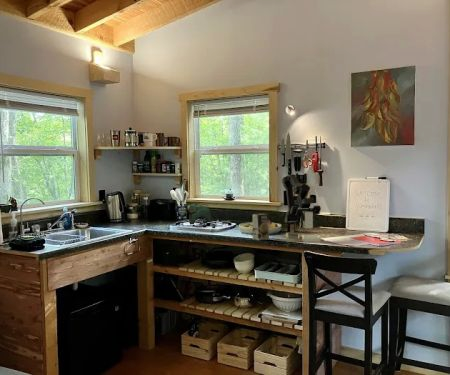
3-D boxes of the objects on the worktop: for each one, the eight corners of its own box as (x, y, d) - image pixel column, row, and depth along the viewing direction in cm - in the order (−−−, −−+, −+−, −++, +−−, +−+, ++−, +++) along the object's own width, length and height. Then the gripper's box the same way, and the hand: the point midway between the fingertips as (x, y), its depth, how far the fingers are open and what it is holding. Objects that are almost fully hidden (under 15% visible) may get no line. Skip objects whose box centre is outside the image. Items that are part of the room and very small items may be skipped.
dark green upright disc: (189, 227, 320) (189, 201, 319) (186, 225, 326) (185, 200, 325) (212, 224, 330) (212, 199, 329) (208, 223, 336) (208, 199, 334)
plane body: (285, 236, 276) (285, 224, 276) (298, 236, 275) (298, 224, 275) (286, 241, 258) (286, 228, 257) (299, 241, 257) (299, 228, 256)
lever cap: (302, 227, 262) (302, 211, 262) (310, 227, 263) (310, 211, 263) (305, 228, 259) (305, 212, 258) (312, 228, 259) (312, 212, 259)
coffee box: (258, 240, 263) (258, 214, 262) (252, 239, 268) (252, 214, 267) (269, 238, 268) (269, 213, 267) (262, 237, 273) (262, 212, 272)
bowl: (279, 236, 278) (279, 224, 278) (235, 235, 284) (235, 223, 284) (282, 229, 308) (282, 218, 307) (242, 228, 314) (242, 217, 313)
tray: (302, 238, 267) (302, 235, 267) (319, 238, 266) (319, 235, 266) (303, 241, 257) (303, 238, 257) (320, 241, 256) (320, 238, 255)
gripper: (291, 193, 262) (296, 213, 252) (319, 192, 265) (326, 212, 255) (287, 204, 270) (293, 224, 260) (315, 204, 273) (321, 223, 263)
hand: (308, 220), depth 259 cm, fingers closed on lever cap, 5 cm apart
